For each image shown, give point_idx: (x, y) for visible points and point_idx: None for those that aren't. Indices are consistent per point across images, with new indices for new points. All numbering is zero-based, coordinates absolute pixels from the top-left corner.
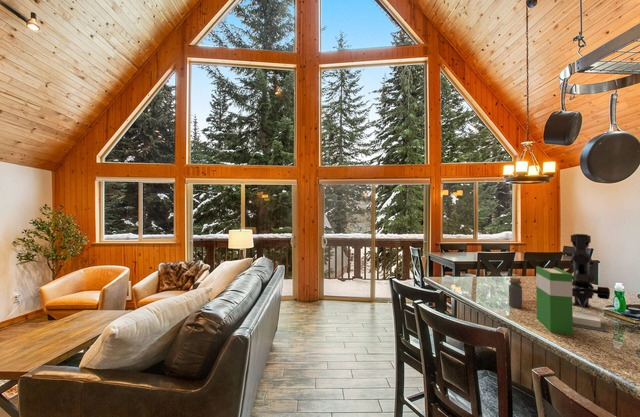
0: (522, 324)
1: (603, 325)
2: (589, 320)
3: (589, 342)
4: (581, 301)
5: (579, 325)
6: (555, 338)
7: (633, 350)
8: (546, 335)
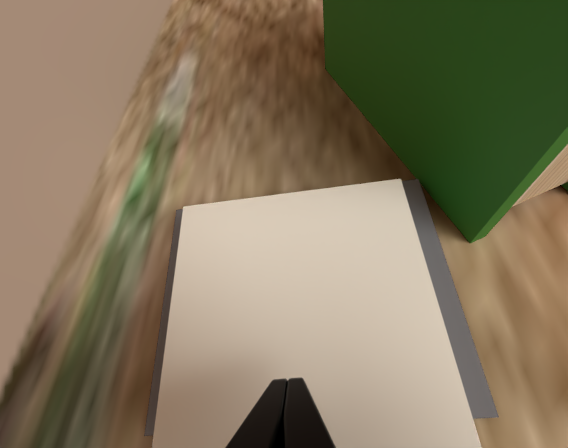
0: None
1: None
2: (249, 203)
3: (266, 42)
4: (294, 421)
5: None
6: None
7: (144, 69)
8: None
